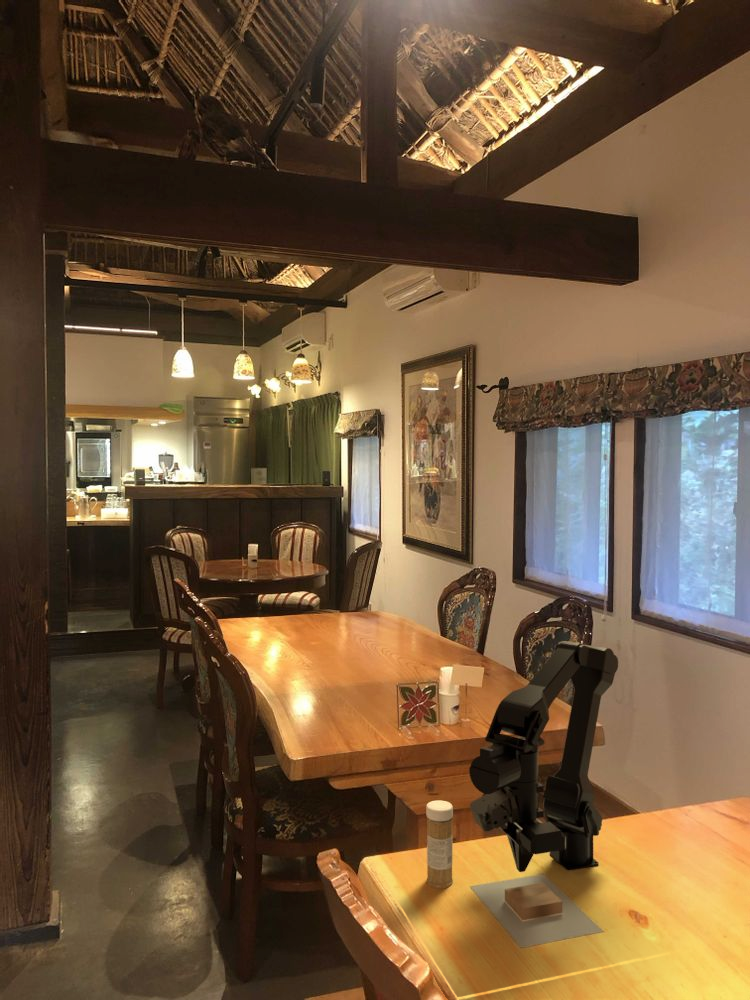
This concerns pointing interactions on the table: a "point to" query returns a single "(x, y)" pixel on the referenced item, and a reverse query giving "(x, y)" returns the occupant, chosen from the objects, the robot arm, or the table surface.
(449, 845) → the sprinkles bottle
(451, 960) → the table surface
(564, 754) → the robot arm
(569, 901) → the slate mat
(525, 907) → the walnut tile
